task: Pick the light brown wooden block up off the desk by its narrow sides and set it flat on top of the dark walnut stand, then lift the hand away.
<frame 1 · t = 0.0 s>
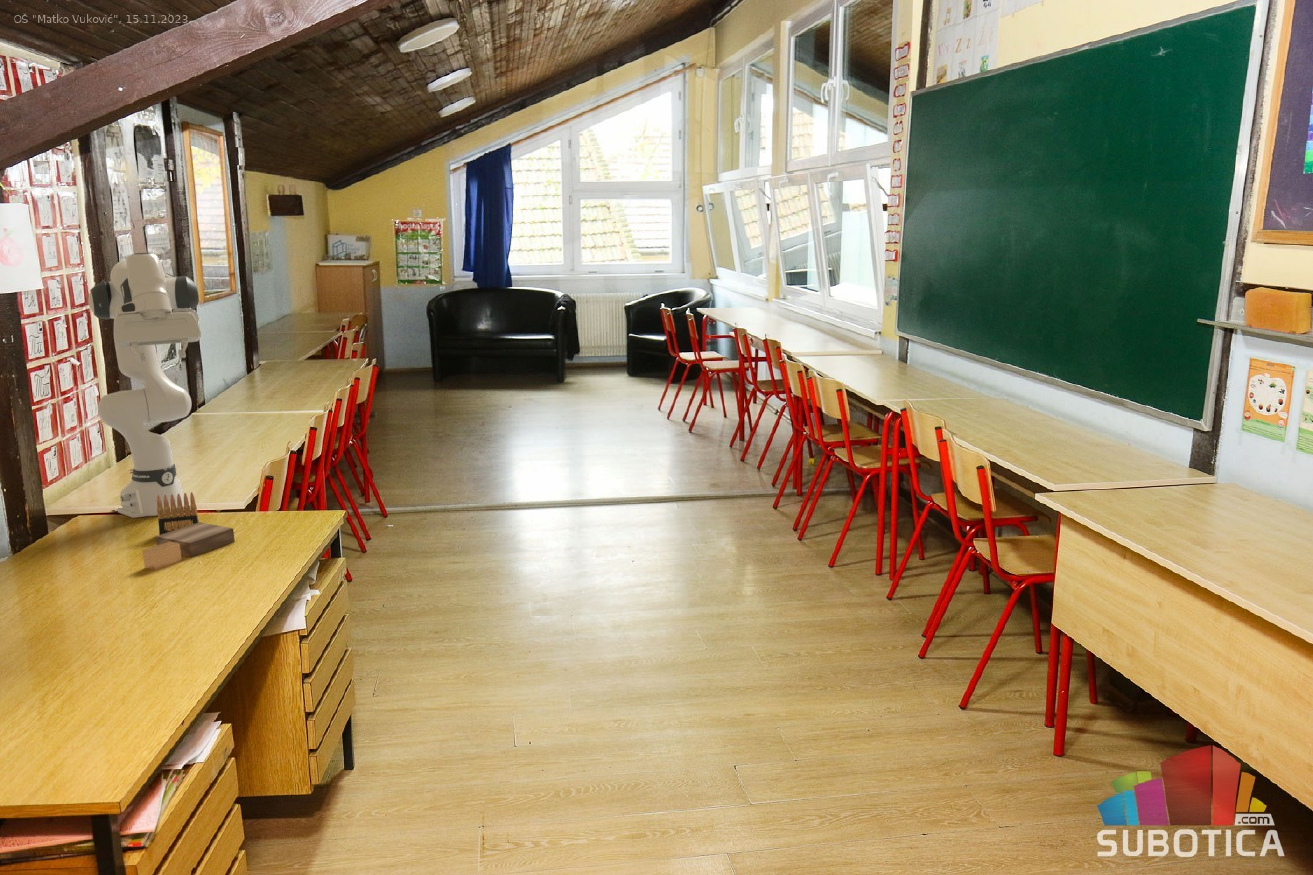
hand: (162, 358, 249), 54 cm above the table, tool tilted 30°, fingers open, 8 cm apart
walnut stand: (196, 545, 271), on the table
light brown wooden block: (163, 564, 256), on the table
ammunition clip: (180, 533, 283), on the table
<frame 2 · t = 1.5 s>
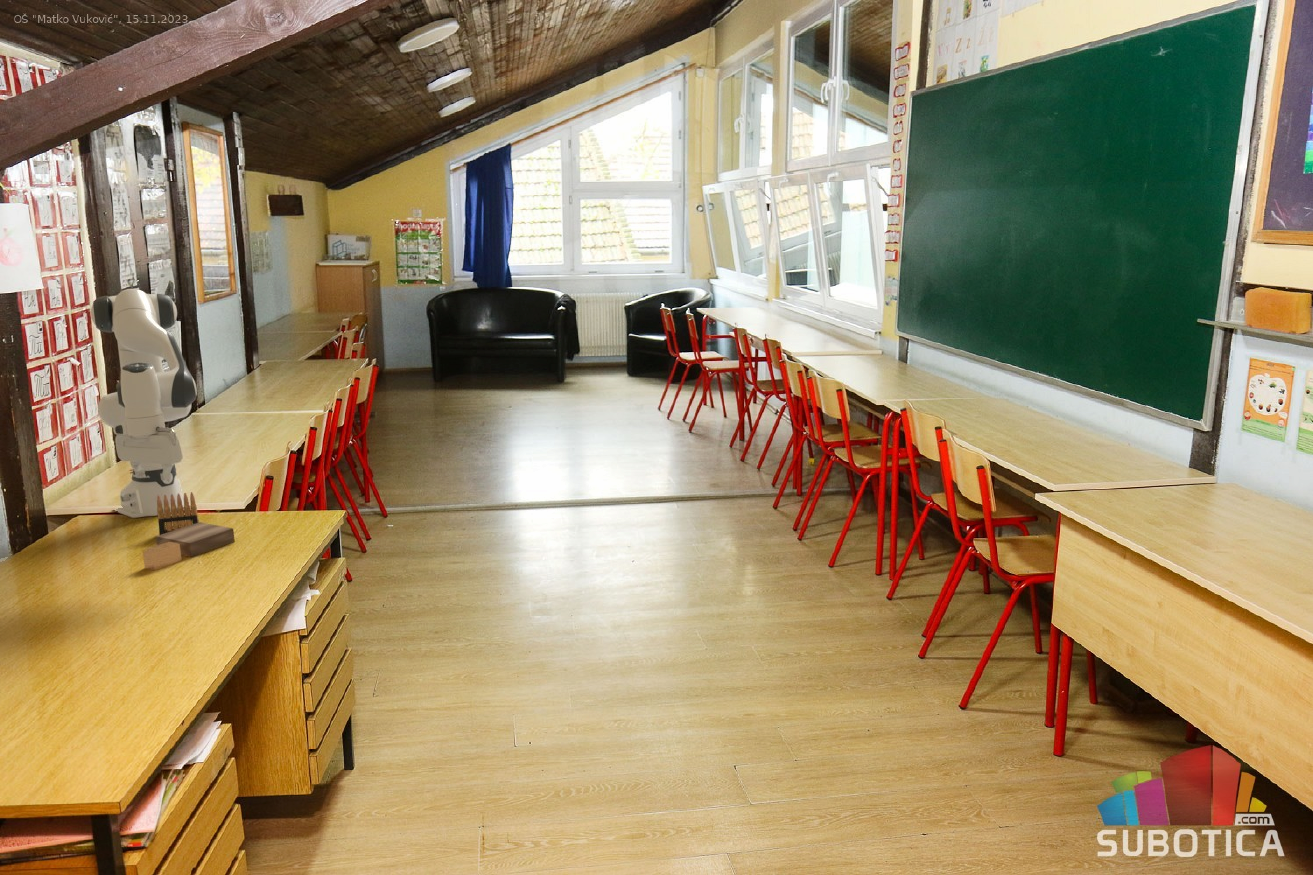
hand: (153, 478, 251), 24 cm above the table, tool pointing down, fingers open, 8 cm apart
nothing on the table moved.
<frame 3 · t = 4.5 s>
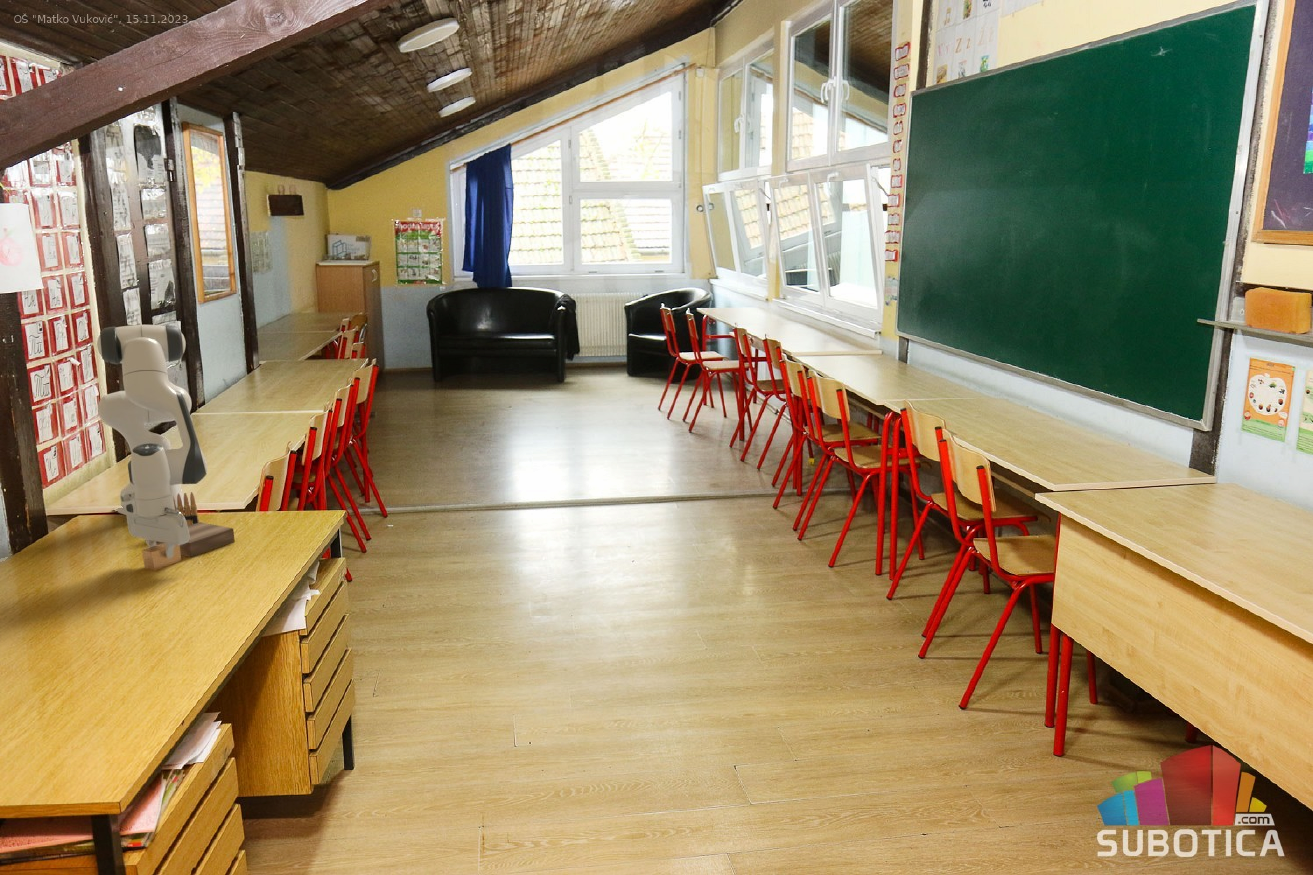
hand: (162, 555, 256), 2 cm above the table, tool pointing down, fingers closed on light brown wooden block, 4 cm apart
light brown wooden block: (163, 564, 256), on the table, touching gripper
everything else where it was.
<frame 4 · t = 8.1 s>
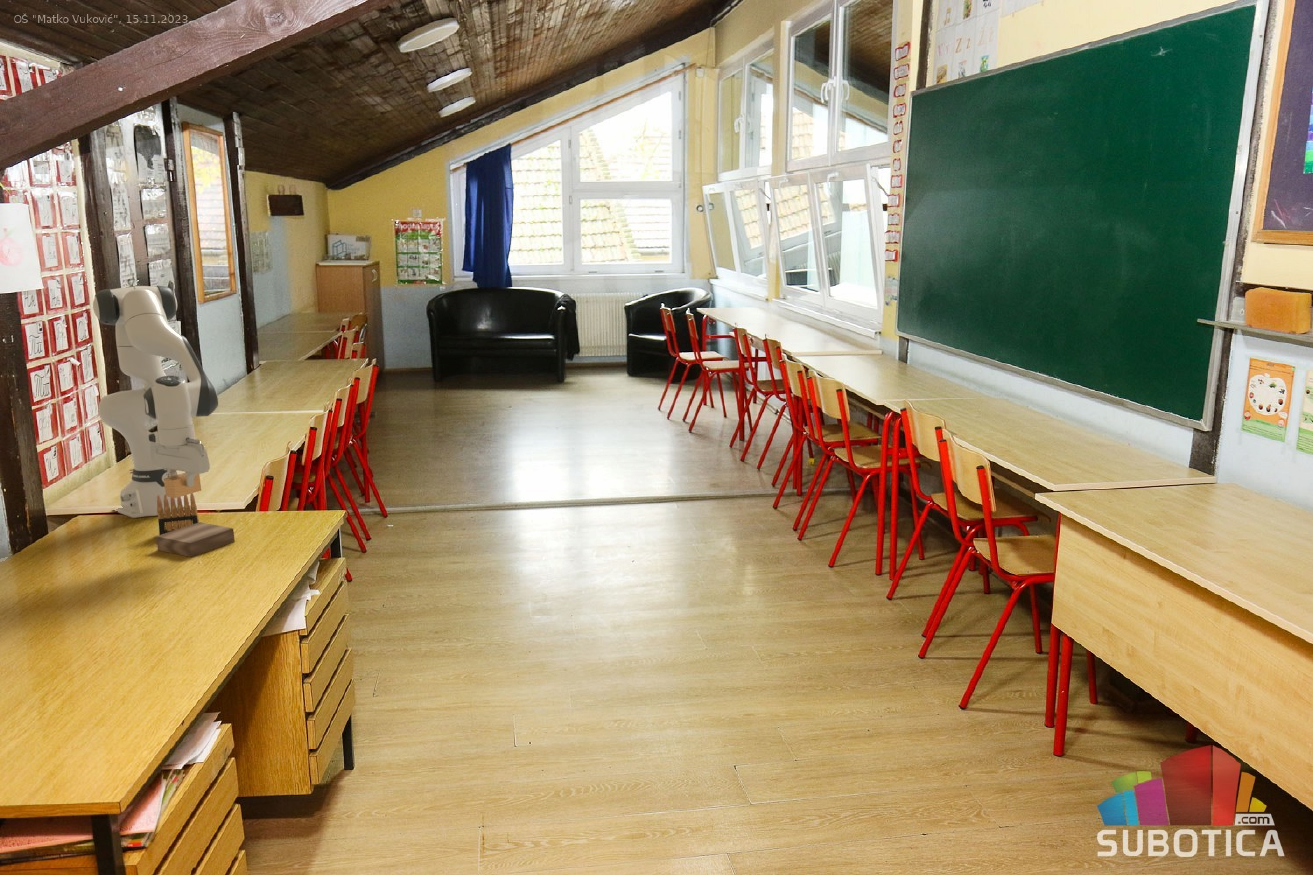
hand: (183, 485, 265), 18 cm above the table, tool pointing down, fingers closed on light brown wooden block, 4 cm apart
light brown wooden block: (183, 493, 265), point 16 cm above the table, touching gripper
everything else where it was.
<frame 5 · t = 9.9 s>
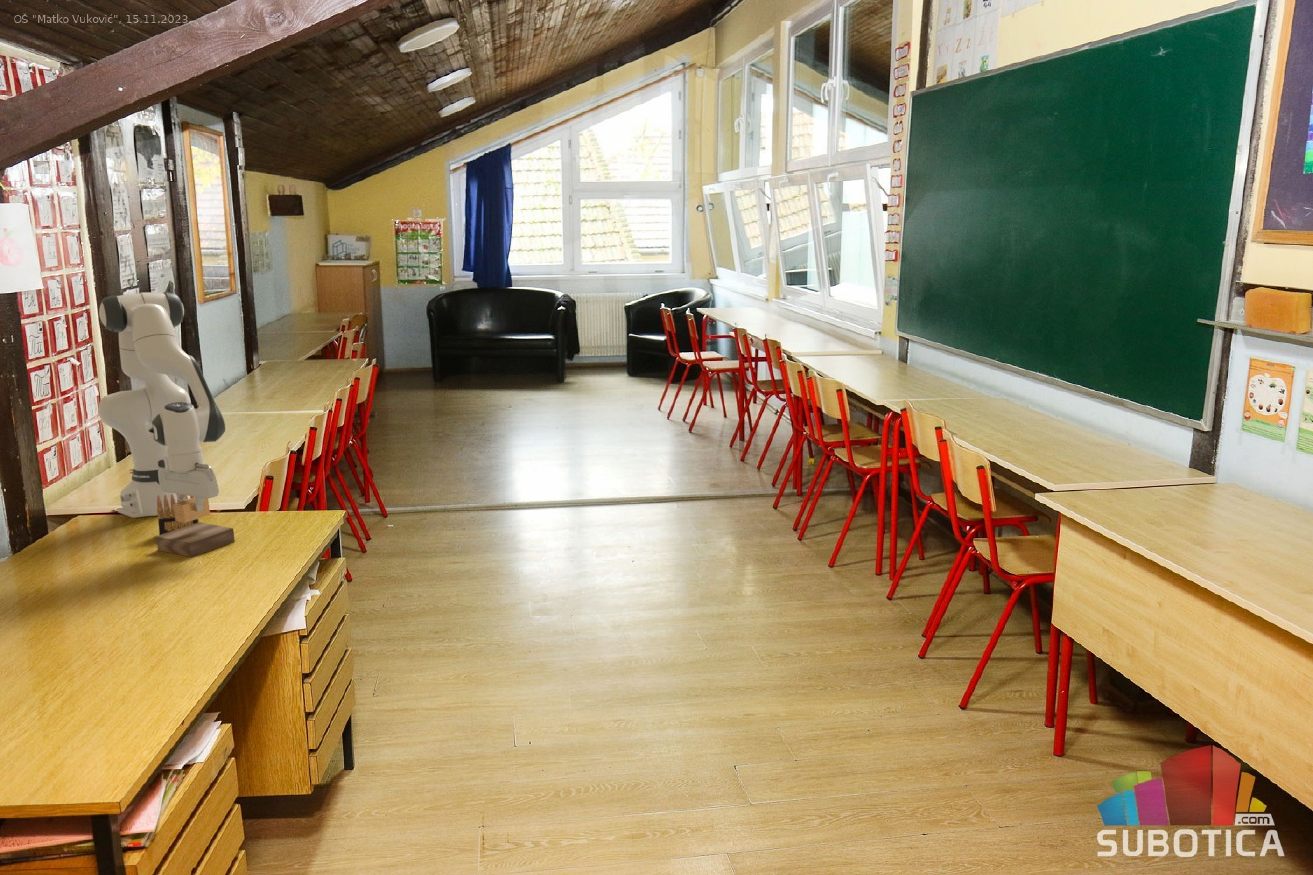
hand: (192, 509, 268), 11 cm above the table, tool pointing down, fingers closed on light brown wooden block, 4 cm apart
light brown wooden block: (193, 517, 269), point 8 cm above the table, touching gripper
everything else where it was.
when the fingers open (8 cm above the table, at t = 11.2 s): light brown wooden block drops 1 cm, resting on walnut stand.
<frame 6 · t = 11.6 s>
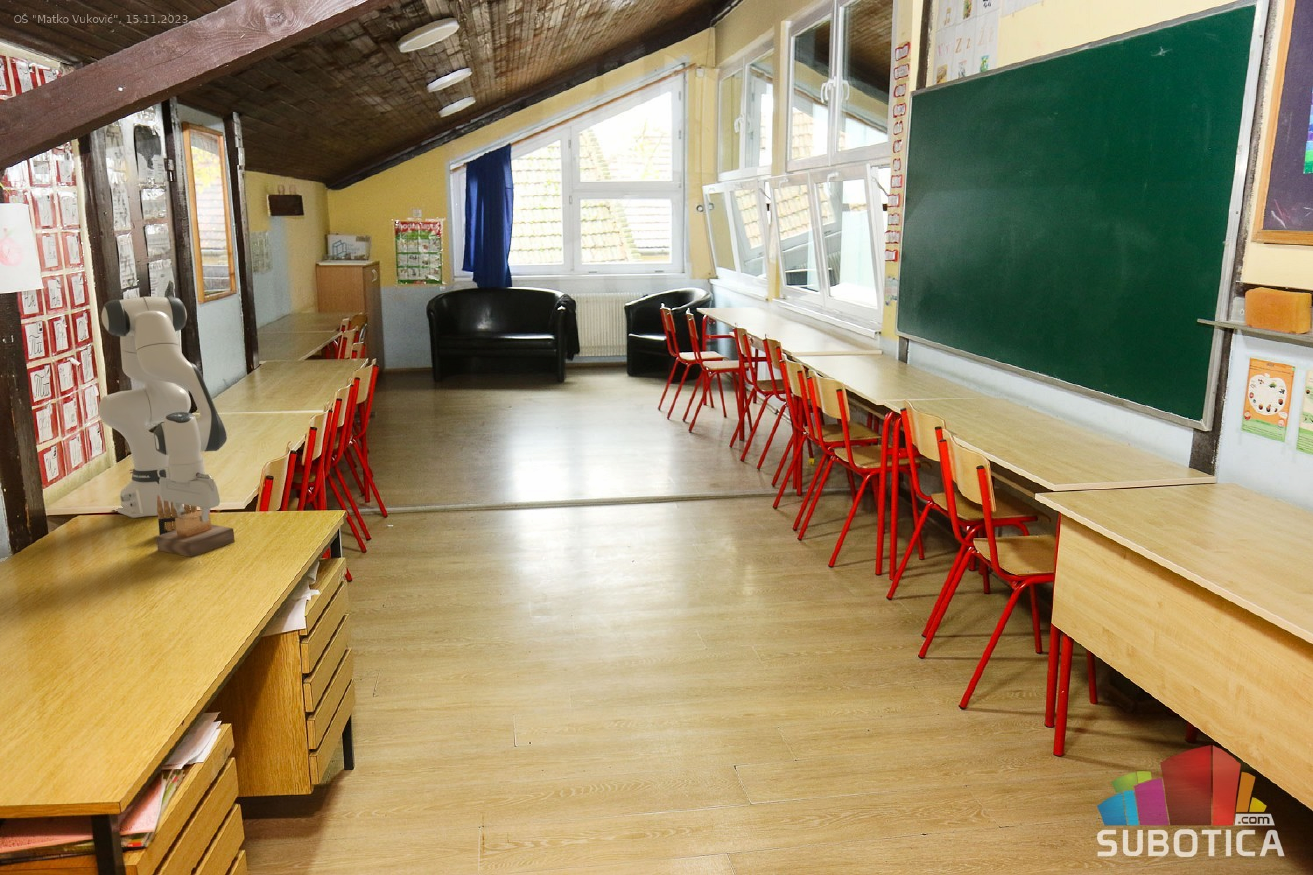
hand: (193, 519, 269), 8 cm above the table, tool pointing down, fingers open, 8 cm apart
light brown wooden block: (194, 532, 270), point 4 cm above the table, touching walnut stand
everything else where it was.
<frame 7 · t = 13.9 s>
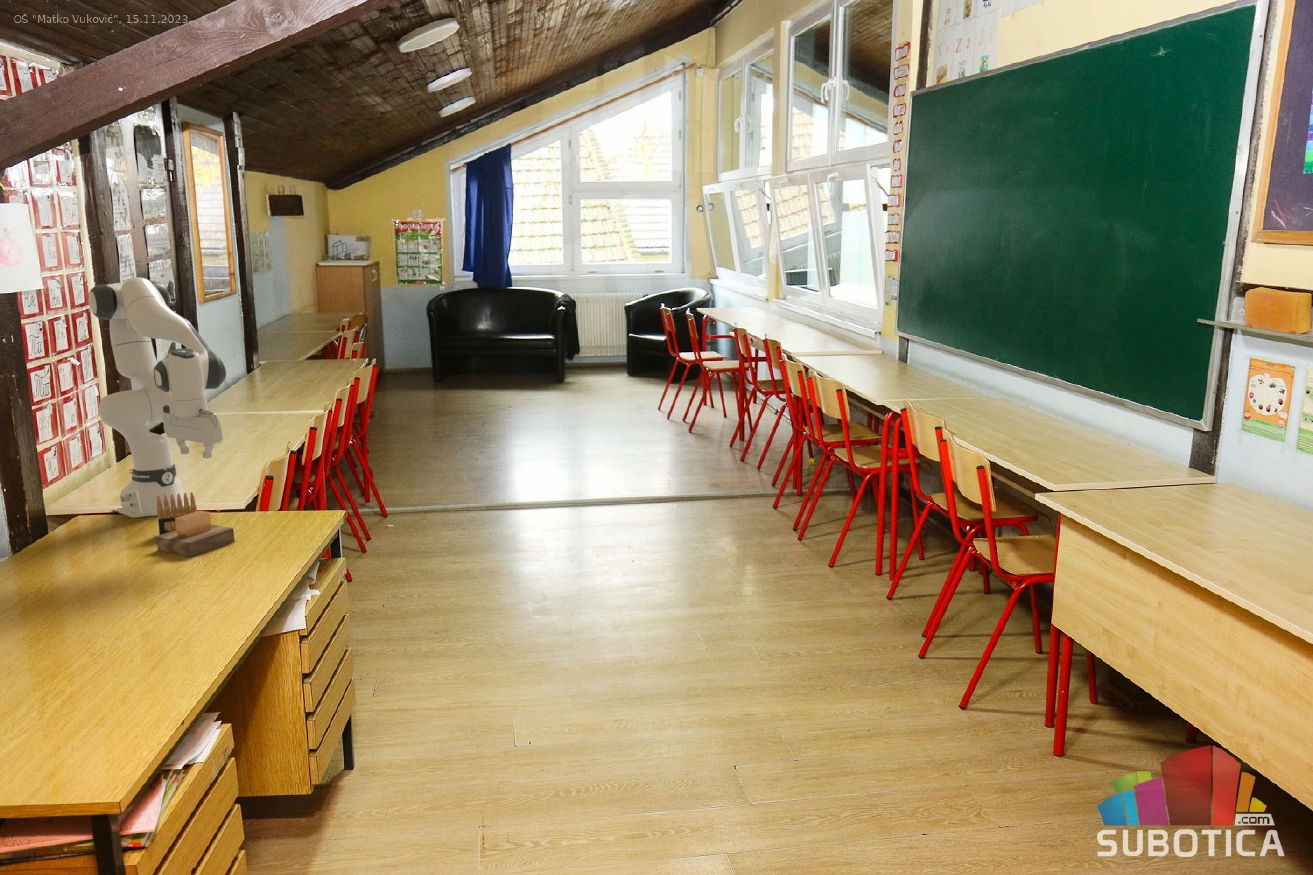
hand: (196, 455, 271), 25 cm above the table, tool pointing down, fingers open, 8 cm apart
nothing on the table moved.
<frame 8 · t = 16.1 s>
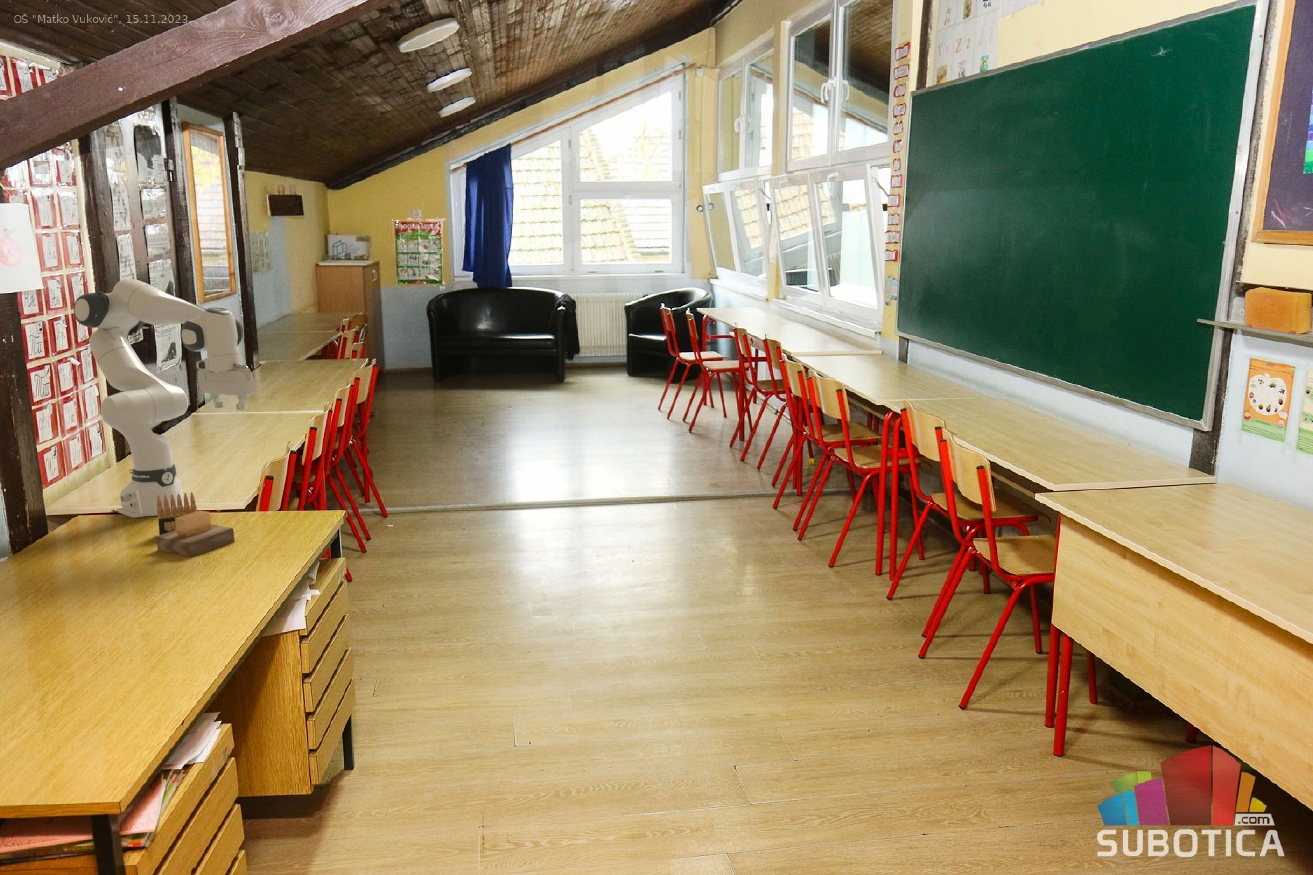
hand: (230, 409, 288), 34 cm above the table, tool pointing down, fingers open, 8 cm apart
nothing on the table moved.
at the end: light brown wooden block inside the target area (0.1 cm from its centre), point 4.0 cm above the table; light brown wooden block tilted 0°; the gripper is holding nothing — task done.
